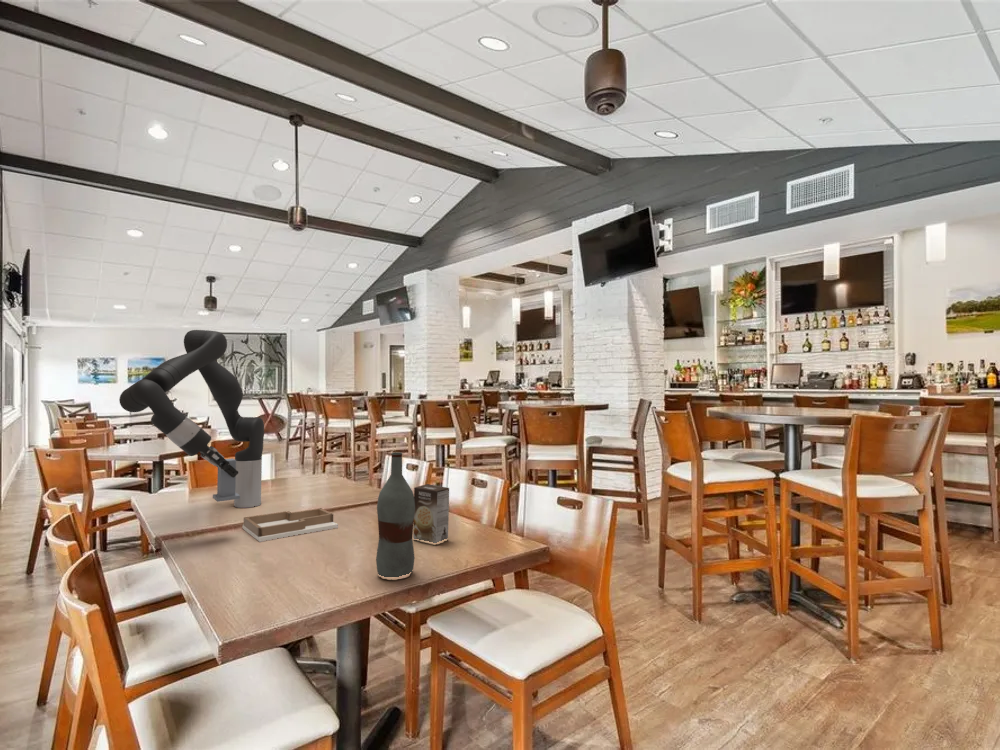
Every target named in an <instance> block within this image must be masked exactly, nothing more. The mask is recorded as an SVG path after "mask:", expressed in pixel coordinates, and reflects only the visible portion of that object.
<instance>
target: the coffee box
mask: <svg viewBox="0 0 1000 750" xmlns="http://www.w3.org/2000/svg"><path fill="white" fill-rule="evenodd" d="M413 495H414V501H415V513H414V523H413V534H412V539H413V538H414V539H419V540H424V541H429V542H433V543H437V542H439V541H442V540H444V539H447V538H448V539H449V520H450V519H449V515H450V506H449V505H450V488H449V487H448V486H447V487H445V486H440V485H434V484H429V483H426V484H423V485H419V486H414V488H413Z"/></svg>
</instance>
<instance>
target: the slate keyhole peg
mask: <svg viewBox="0 0 1000 750" xmlns="http://www.w3.org/2000/svg"><path fill="white" fill-rule="evenodd" d="M224 459H225V460H227V461H228V462H229V463H230V465H231V466H232V467H233V468H234V469H236V460H235V458H224ZM224 463H225V462H224V461H222V462H221V463H220V465H221V466H222V465H223V464H224ZM235 487H236V476H235V477H234V478H233V477H231V476H230V475H229V474H228V473H226V472H225V471H224V470H221V468H220V467H217V488H216V489H217V491H216V492H217V493H215V494H214V493H213V494H212V499H213V500H215V501H216V503H217V502H227V501H234V500H235V499H240V495H238V494H237V493H235Z"/></svg>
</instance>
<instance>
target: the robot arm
mask: <svg viewBox="0 0 1000 750" xmlns="http://www.w3.org/2000/svg"><path fill="white" fill-rule="evenodd" d="M183 337H184V338H183V347H184V350H185V352H186V353H183V354H181V355H178V356H177V355H176V356H174V357H172V358H170V359H167V360H165V361H163V362H162V363H160V364H159V365H158V366H156V367H154V369H152V370H151V371H150V372H149V373H148V374H147V375H145V376H144V377H143V378H141V379H139V380H138V381H136V382H135V383H134V384H132V385H130V386H129V387H127V388H126V389H124V390H123V391H122V392H121V393H120V396H119V401H118V402H119V405H120V406H121V408H122V409H123V410H124V411H126V412H129V413H139V412H142V411H144V410H146V409H147V408H149V409H150V410H151V411H152V413H153V414H152V416H151V418H150V423H151V424H152V425H153V426H154V427H155V428H157V429H158V430H159V431H160V432H161V433H163V434H164V435H165V436H166V437H167V438H168V439H169V440H170V441H171V442H172V443H173V444H174V445H176V446H177V447H178V448H179V449H181V450H182V451H183V452H184V453H186V455H188V456H189V457H194V456H196V455H198V453H200V457H201V458H203V459H204V460H205V461H207V462H208V463H209V464H210V465H212V466H214V467H216V468H218V467H220V468H221V470H224V471H225V472H226V473H228V474H229V475H230V476H231V477H233V478H234V477H235V476H236V487H235V493H237V494H238V495H240V499H235V500H233V506H234V507H235V508H239V509H241V508H254V506H255V507H258V506H260V505H261V504H262V477H263V475H262V473H263V472H262V465H263V464H262V463H263V451H264V437H265V424H264V421H263V418H261V417H259V416H257V417H255V416H242V415H241V414H240V413H239V408H240V405H241V403H242V400H243V398H244V393H243V390H242V387H241V384H240V383H239V380H238V379H237V378H236V376H235V375H234V374H233V373H232V372H231V371H229V370H228V369H227V368H226V367H224V366H223V365H221V363H219V362H218V361H217V360H218V359H221V358H222V357H223V355H224V354H226V351H227V349H228V340H227V337H226V336H225V334H224V333H222V332H219V331H216V330H206V329H192V330H191V329H190V330H189V331H187V332H186V333H185V335H184V336H183ZM196 371H199V373H200V374H201V376H202V378H203V380H204V382H205V383H206V385H207V387H208V389H209V391H210V393H211V395H212V398H213V399H214V401H215V402H216V405H217V407H218V408H219V410H220V412H221V413H222V416H223V418H224V420H225V423H226V424H225V425H226V426H227V429H228V432H229V435H230V436H231V437H232V440H234V441H236V442H247V443H249V444H248V446H247V447H246V448H245V449H243V450H239V451H236V452H235V453H234V459H235V460H236V469H234V468H233V467H232V466H231V465H230V463H229V462H228V461H227V460H225V459H226V458H225V456H223V454H222V453H220V452H219V451H218V449H216V448H215V447H214V446H212V445H210V446H209V445H208V444H209V443H210V442H211V440H212V436H211V435H210V434H209V433H207V432H206V431H205V430H204V429H203V428H202V427H201V426H199V425H198V424H197V423H196V422H194V421H193V420H192V419H190V418H189V417H187V415H185V414H184V413H183V412H181V411H180V409H178V408H177V407H176V406H174V403H173V402H172V401H171V398H170V397H169V395H167V392H168V391H170V390H171V389H173V388H174V387H175V386H176V385H178V384H179V383H180V382H182V381H184V379H185V378H186V377H188V376H189V375H191V374H193V373H195V372H196ZM222 461H224V462H225V463H224V464H223V465H222V466H221V465H220V463H221V462H222Z"/></svg>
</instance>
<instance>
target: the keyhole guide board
mask: <svg viewBox="0 0 1000 750" xmlns="http://www.w3.org/2000/svg"><path fill="white" fill-rule="evenodd" d="M333 528H335V529H338V528H339V524H338V523H336V522H334V513H332V512H330V511H328V510H326V509H324V508H322V507H319V508H313V509H307V510H306V509H305V510H299V511H293V512H291V511H290V510H288V511H287V510H286V511H278V512H272V513H271V512H270V513H266V514H265V513H264V514H259V515H251V516H244V517H243V524H242V529H243V530H244V531H245V532H246V533H248V534H249V535H250V536H252V537H253V538H254V539H255V540H257V542H259V543H261V542H266V540H267V541H273V540H277V538H279V539H283V537H284V538H289V537H288V536H290V537H294V536H293V535H295V536H299V535H298V534H301V535H305V534H304V533H307V534H311V533H310V532H312V533H316V531H318V532H322V530H324V531H328V529H329V530H334V529H333ZM272 539H273V540H272Z"/></svg>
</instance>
